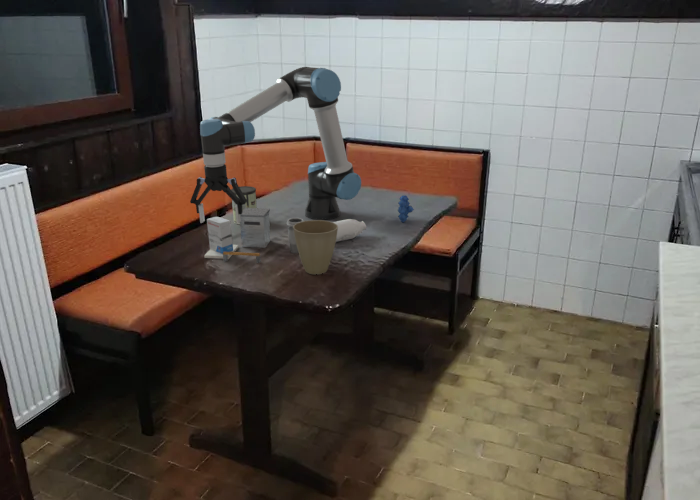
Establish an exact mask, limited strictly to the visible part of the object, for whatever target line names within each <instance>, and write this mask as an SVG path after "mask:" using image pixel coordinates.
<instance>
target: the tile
mask: <svg viewBox="0 0 700 500" xmlns="http://www.w3.org/2000/svg"><path fill="white" fill-rule="evenodd" d="M238 249H239V244H233V251H230V252H237V250H238ZM227 256H228V260H229V259H230V258H231V257H232V256H233V255H227ZM204 259H219V260H223V254H222V253H220V252H217V251H214V250H212V249H210V248H209V250H208V251H207V252H206V253H205V254H204Z"/></svg>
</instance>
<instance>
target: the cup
mask: <svg viewBox="0 0 700 500" xmlns="http://www.w3.org/2000/svg"><path fill="white" fill-rule="evenodd" d="M303 221H305V220H304V219H303V218H301V217H291V218H287V221H286V225H287V233H288V234H287V235H288V243H289V251H290V253H291V254H299V252H298V248H297V245H296V240H295V235H294V229H293V226H294V225H295V224H297V223H299V222H303Z"/></svg>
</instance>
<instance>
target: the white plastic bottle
mask: <svg viewBox="0 0 700 500" xmlns="http://www.w3.org/2000/svg"><path fill="white" fill-rule="evenodd" d="M332 222H333V223H335V224H337V225H338V230H337V237H336V243H338V242H343V241H347V240H353V239H354V238H356V237H358V236H359V235H360V234H363V231H365V230H367V225H366V223H365V222H364V221H363V220H362V221H358V220H357V219H351V218H348V219H343V220H337V221H332Z"/></svg>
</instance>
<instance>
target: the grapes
mask: <svg viewBox="0 0 700 500" xmlns="http://www.w3.org/2000/svg"><path fill="white" fill-rule="evenodd" d="M399 200H400V201H398V203H397V204H398V205H399V206H398V207H397V212H398V216H397V217H398V218H399V220H400V222H402V223H405V222H406V221H407V220H408V218H409V214H410V213H412V212H413V211H414V210H415V209H414V208H413V206H412V205H410V204H411V203H410V202H409V197H408V196H407V195H405V194H404V195H401V196H400V198H399Z"/></svg>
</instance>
